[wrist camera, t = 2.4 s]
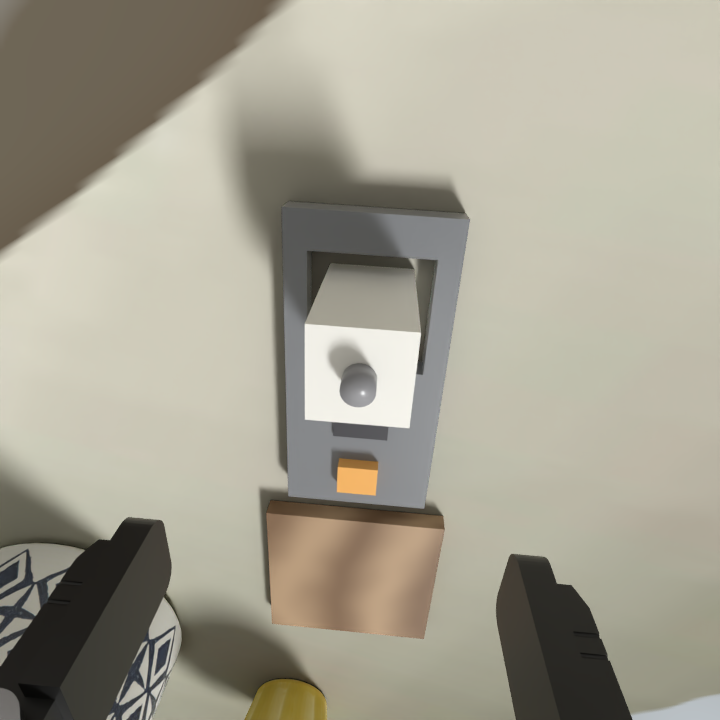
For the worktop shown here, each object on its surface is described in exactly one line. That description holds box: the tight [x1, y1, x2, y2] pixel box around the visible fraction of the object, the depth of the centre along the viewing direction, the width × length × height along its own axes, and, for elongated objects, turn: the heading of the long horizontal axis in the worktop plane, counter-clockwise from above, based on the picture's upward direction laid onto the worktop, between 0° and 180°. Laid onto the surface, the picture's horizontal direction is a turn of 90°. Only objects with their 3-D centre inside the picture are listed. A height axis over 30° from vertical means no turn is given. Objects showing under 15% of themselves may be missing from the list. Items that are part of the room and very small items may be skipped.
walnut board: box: [266, 500, 445, 639], centre depth 35 cm, size 12×12×1 cm
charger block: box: [305, 263, 421, 428], centre depth 22 cm, size 4×4×9 cm
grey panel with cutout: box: [282, 201, 470, 509], centre depth 27 cm, size 9×18×2 cm, turn 177°
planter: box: [0, 543, 182, 720], centre depth 34 cm, size 18×18×16 cm
